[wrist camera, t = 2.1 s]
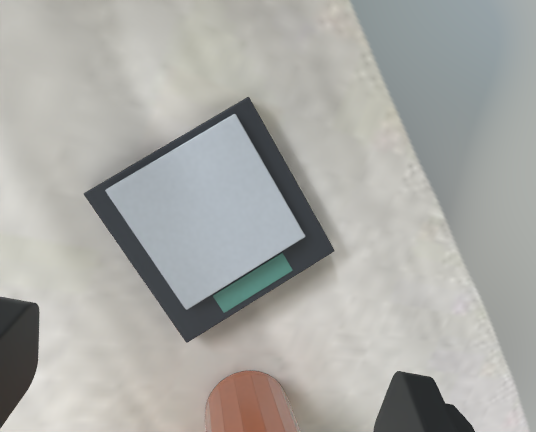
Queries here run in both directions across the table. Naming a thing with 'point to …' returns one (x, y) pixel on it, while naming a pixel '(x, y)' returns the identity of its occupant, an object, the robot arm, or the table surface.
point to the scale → (212, 220)
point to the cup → (249, 405)
